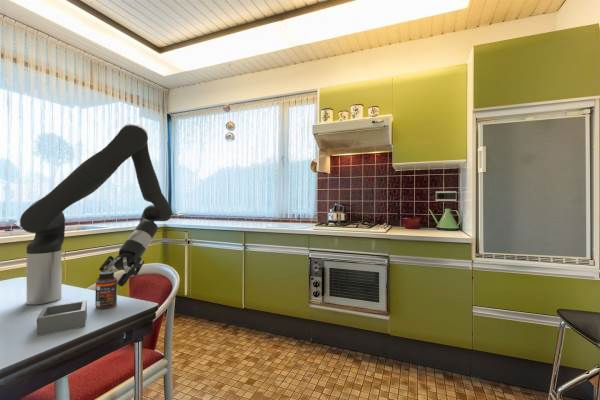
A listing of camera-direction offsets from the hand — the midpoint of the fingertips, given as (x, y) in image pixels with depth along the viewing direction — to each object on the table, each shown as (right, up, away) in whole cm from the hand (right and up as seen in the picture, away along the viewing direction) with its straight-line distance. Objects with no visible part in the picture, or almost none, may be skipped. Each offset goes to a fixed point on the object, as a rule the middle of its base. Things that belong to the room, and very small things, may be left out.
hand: (109, 284), depth 96 cm
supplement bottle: (0, -7, -1) cm, 7 cm away
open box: (-3, -7, -15) cm, 17 cm away
